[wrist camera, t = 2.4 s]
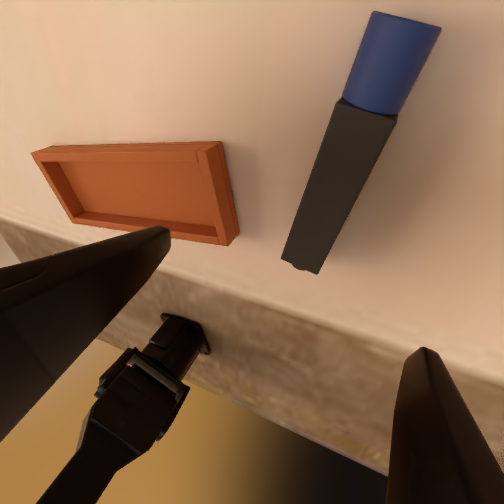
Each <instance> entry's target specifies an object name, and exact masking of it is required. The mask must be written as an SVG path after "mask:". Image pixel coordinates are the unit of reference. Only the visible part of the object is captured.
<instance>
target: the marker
mask: <svg viewBox="0 0 504 504" xmlns="http://www.w3.org/2000/svg"><path fill="white" fill-rule="evenodd" d="M441 29H442V28H441V27H438V26H434V25H430V24H426V23H422V22H418V21H414V20H410V19H406V18H402V17H398V16H394V15H390V14H386V13H382V12H378V11H373V12H372V14H371V17H370V19H369V22H368V25H367V28H366V30H365V33H364V36H363V39H362V41H361V44H360V47H359V50H358V52H357V55H356V58H355V61H354V63H353V66H352V69H351V72H350V74H349V77H348V80H347V83H346V85H345V88H344V91H343V94H342V97H341V98H340V99H339V100H338V101H337V103H336V104H335V107H334V110H333V113H332V116H331V118H330V121H329V124H328V127H327V130H326V132H325V135H324V138H323V141H322V144H321V146H320V149H319V152H318V155H317V158H316V160H315V163H314V166H313V169H312V172H311V174H310V177H309V180H308V183H307V186H306V189H305V191H304V194H303V197H302V200H301V203H300V205H299V208H298V211H297V214H296V217H295V219H294V222H293V225H292V228H291V231H290V233H289V236H288V239H287V242H286V245H285V247H284V250H283V253H282V256H281V259H282V260H285V261H287V262H289V263H291V264H292V265H293V266H294V267H295V268H296V269H299V270H307V271H309V272H311V273H314V274H316V275H317V274H318V273H319V271H320V269H321V267H322V265H323V263H324V261H325V259H326V257H327V256H328V254H329V252H330V250H331V248H332V246H333V244H334V242H335V240H336V238H337V236H338V234H339V232H340V230H341V229H342V227H343V225H344V223H345V221H346V219H347V217H348V215H349V213H350V211H351V209H352V207H353V205H354V204H355V202H356V200H357V198H358V196H359V194H360V192H361V190H362V188H363V186H364V184H365V182H366V180H367V179H368V177H369V175H370V173H371V171H372V169H373V167H374V165H375V163H376V161H377V159H378V157H379V155H380V154H381V152H382V150H383V148H384V146H385V144H386V142H387V140H388V138H389V136H390V134H391V132H392V130H393V129H394V127H395V125H396V123H397V117H398V113H399V112H400V110H401V108H402V106H403V104H404V102H405V101H406V99H407V97H408V95H409V93H410V91H411V89H412V87H413V85H414V83H415V81H416V79H417V77H418V75H419V73H420V71H421V69H422V67H423V66H424V64H425V62H426V60H427V58H428V56H429V54H430V52H431V50H432V48H433V46H434V44H435V42H436V40H437V38H438V36H439V34H440V32H441Z"/></svg>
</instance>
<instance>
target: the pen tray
mask: <svg viewBox="0 0 504 504" xmlns="http://www.w3.org/2000/svg"><path fill="white" fill-rule="evenodd" d="M31 155H32V157H33V158H34V160H35V162H36V163H37V165H38V167H39V168H40V170H41V172H42V173H43V175H44V177H45V178H46V180H47V182H48V183H49V185H50V187H51V188H52V190H53V192H54V193H55V195H56V197H57V198H58V200H59V202H60V203H61V205H62V207H63V208H64V210H65V212H66V213H67V215H68V217H69V218H70V220H71V222H72V223H74V224H82V225H88V226H95V227H102V228H108V229H115V230H122V231H128V232H135V231H138V230H142V229H146V228H149V227H153V226H156V225H162V226H164V227H166V228H168V229H170V232H171V238H175V239H182V240H189V241H195V242H202V243H209V244H215V245H222V246H229V245H230V243H231V242H232V241H233V240H234V239H235V237H236V236H237V235H238V234H239V228H238V223H237V218H236V213H235V208H234V203H233V198H232V193H231V188H230V183H229V178H228V173H227V168H226V163H225V158H224V153H223V148H222V143H221V141H212V142H178V143H144V144H110V145H76V146H50V147H47V148H44V149H41V150H38V151H35V152H32V153H31Z"/></svg>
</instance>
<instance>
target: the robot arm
mask: <svg viewBox="0 0 504 504" xmlns="http://www.w3.org/2000/svg"><path fill="white" fill-rule="evenodd" d="M170 248H171V232H170V229H168V228H166V227H164V226H162V225H156V226H153V227H149V228H146V229H142V230H138V231H135V232H131V233H128V234H124V235H121V236H117V237H114V238H110V239H107V240H103V241H100V242H96V243H92V244H89V245H85V246H82V247H78V248H75V249H71V250H68V251H64V252H61V253H57V254H54V255H53V256H52V255H50V256H46V257H43V258H39V259H35V260H32V261H28V262H24V263H20V264H16V265H12V266H8V267H3V268H0V442H1V441H2V440H3V439H4V438H5V437H6V435H8V433H9V432H10V431H11V430H12V429H13V428H14V427H15V426H16V425H17V424H18V422H19V421H20V420H21V419H22V418H23V417H24V416H25V415H26V414H27V413H28V412H29V410H30V409H31V408H32V407H33V406H34V405H35V404H36V403H37V402H38V400H40V398H41V397H42V396H43V395H44V394H45V393H46V392H47V391H48V390H49V389H50V387H51V386H52V385H53V384H54V383H55V381H56V380H57V379H58V378H59V377H60V376H61V375H62V374H63V373H64V372H65V371H66V370H67V369H68V367H69V366H70V365H71V364H72V363H73V362H74V361H75V360H76V359H77V358H78V357H79V355H80V354H81V353H82V352H83V351H84V350H85V349H86V348H87V347H88V345H90V343H91V342H92V341H93V340H94V339H95V338H96V337H97V336H98V335H99V334H100V332H101V331H102V330H103V329H104V328H105V327H106V326H107V325H108V324H109V323H110V322H111V320H112V319H113V318H114V317H115V316H116V315H117V314H118V313H119V312H120V311H121V309H122V308H123V307H124V306H125V305H126V304H127V303H128V302H129V301H130V300H131V299H132V297H133V296H134V295H135V294H136V293H137V292H138V291H139V290H140V289H141V288H142V286H143V285H144V284H145V283H146V282H147V281H148V279H149V278H150V277H151V275H152V274H153V272H154V271H155V270H156V268H157V267H158V266H159V264H160V263H161V261H162V260H163V259H164V257H165V256H166V255H167V253H168V252H169V250H170ZM160 317H161V319H162V321H163V325H162V326H161V327H160V328H159V329H158V331H157V332H156V333H155V334H154V335H153V337H152V338H151V339H150V340H149V344H148V345H147V346H146V347H145V348H144V350H143V351H142V352H140V351H139V350H138V349H137V348H136V347H134V349H131V348H127V349H126V351H125V352H124V353H123V354H122V355H121V356H120V357H119V358H118V360H117V361H116V362H115V363H114V364H113V365H112V366H111V367H110V368H109V369H108V370H107V371H106V372H105V373H104V374H103V375H102V376H101V377H100V379H99V386H98V388H97V389H98V390H97V391H96V393H95V394H94V396H95V397H97V398H98V400H97V401H96V402H95V403H94V405H93V406H92V407H91V409H90V410H89V412H88V414H87V415H86V417H85V418H84V420H83V424H82V428H81V432H80V436H79V440H78V444H77V448H76V452H75V454H74V456H73V457H72V458H71V459H70V461H69V462H68V463H67V465H66V466H65V467H64V468H63V470H62V471H61V472H60V473H59V475H58V476H57V477H56V479H55V480H54V481H53V482H52V484H51V485H50V486H49V487H48V489H47V490H46V491H45V493H44V494H43V495H42V496H41V498H40V499H39V500H38V502H37V503H36V504H96V502H97V501H98V499H99V498H100V496H101V495H102V493H103V491H104V490H105V488H106V487H107V485H108V483H109V482H110V481H111V479H112V477H113V476H114V474H115V473H116V472H117V471H118V470H120V469H121V468H123V467H124V466H125V465H127V464H129V463H130V462H132V461H133V460H135V459H136V458H137V457H139V456H141V455H142V454H144V453H145V452H146V451H148V450H149V449H150V448H151V447H152V445H153V443H154V442H155V440H156V441H159V440H160V439H161V438H162V437H163V436H164V434H165V433H166V432H167V430H168V429H169V427H170V426H171V424H172V423H173V421H174V419H175V417H176V415H177V413H178V411H179V409H180V408H181V405H182V404H183V402H184V400H185V398H186V396H187V394H188V392H189V390H190V387H189V386H186V385H185V384H183V383H182V382H181V380H182V379H183V377H184V376H185V374H186V373H187V371H188V370H189V368H190V367H191V365H192V363H193V362H194V360H195V359H196V357H197V356H198V354H199V353H202V354H205V355H209V354H210V353H211V352H210V349H209V346H208V344H207V341H206V339H205V336H204V334H203V331H202V328H201V326H200V325H199V324H198V323H195V322H191V321H188V320H184V319H181V318H178V317H174V316H171V315H168V314H164V313H162V314H161V316H160ZM128 364H131V365H132V367H130V366H129V365H128ZM127 365H128V366H127ZM386 504H504V474H503V472H502V470H501V468H500V466H499V464H498V462H497V461H496V459H495V457H494V455H493V453H492V451H491V450H490V448H489V446H488V444H487V442H486V440H485V439H484V437H483V435H482V433H481V431H480V429H479V428H478V426H477V424H476V422H475V420H474V418H473V416H472V415H471V413H470V411H469V409H468V407H467V405H466V404H465V402H464V400H463V398H462V396H461V394H460V393H459V391H458V389H457V387H456V385H455V383H454V381H453V380H452V378H451V376H450V374H449V372H448V370H447V369H446V367H445V365H444V363H443V361H442V359H441V358H440V356H439V354H438V353H437V352H435V351H433V350H431V349H429V348H426V347H420V348H419V349H418V350H416V351H415V352H414V353H413V354H411V355H410V356H409V357H408V358H407V359H406V361H405V363H404V366H403V371H402V376H401V380H400V385H399V390H398V394H397V399H396V404H395V409H394V417H393V429H392V440H391V451H390V463H389V474H388V486H387V497H386Z"/></svg>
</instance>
